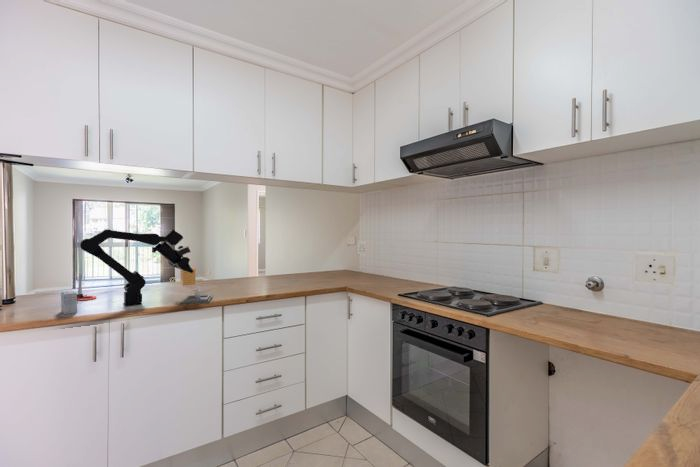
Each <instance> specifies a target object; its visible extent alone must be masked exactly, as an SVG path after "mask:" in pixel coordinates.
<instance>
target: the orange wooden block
mask: <svg viewBox="0 0 700 467" xmlns="http://www.w3.org/2000/svg"><path fill="white" fill-rule="evenodd" d="M191 269H192V270H193V273H190V272H187V271H185V270H182V269H180V285H181V286H194V285H196V268H194V267H191Z"/></svg>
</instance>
